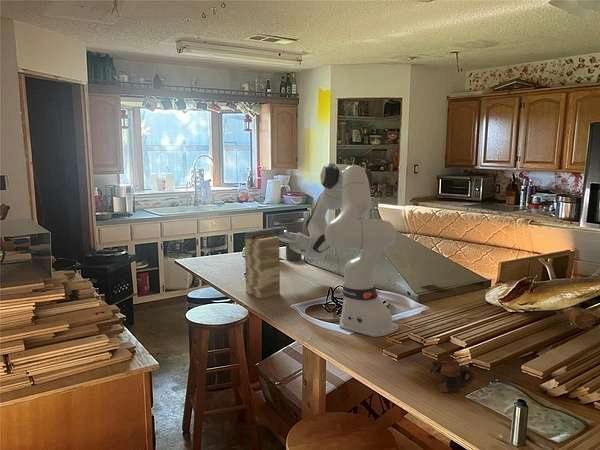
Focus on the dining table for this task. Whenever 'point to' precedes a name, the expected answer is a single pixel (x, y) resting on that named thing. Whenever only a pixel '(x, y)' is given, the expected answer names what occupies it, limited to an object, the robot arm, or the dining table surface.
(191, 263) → the dining table surface
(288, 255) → the mug
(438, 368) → the pottery mug
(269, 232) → the steel block
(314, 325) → the dining table surface
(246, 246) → the maple stand
